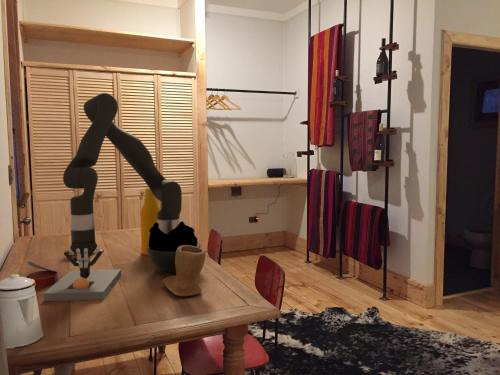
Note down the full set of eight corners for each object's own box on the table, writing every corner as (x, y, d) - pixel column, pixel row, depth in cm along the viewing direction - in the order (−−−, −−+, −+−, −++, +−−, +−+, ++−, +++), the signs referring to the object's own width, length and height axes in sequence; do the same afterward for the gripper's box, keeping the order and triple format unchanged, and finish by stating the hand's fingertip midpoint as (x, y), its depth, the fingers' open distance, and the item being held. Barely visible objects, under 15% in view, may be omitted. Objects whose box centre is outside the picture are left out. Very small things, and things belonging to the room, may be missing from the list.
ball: (85, 284, 135) (87, 296, 137) (89, 274, 139) (91, 286, 141) (69, 284, 134) (71, 296, 136) (74, 274, 139) (76, 286, 141)
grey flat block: (121, 275, 156) (121, 269, 155) (103, 299, 132) (103, 291, 132) (71, 277, 154) (70, 270, 154) (44, 301, 131) (43, 293, 130)
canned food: (30, 294, 150) (28, 266, 153) (61, 287, 154) (58, 261, 157) (23, 289, 140) (21, 260, 143) (56, 282, 144) (53, 254, 147)
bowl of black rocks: (211, 268, 164) (210, 220, 163) (177, 283, 147) (176, 229, 145) (171, 261, 175) (170, 216, 173) (136, 274, 157) (134, 224, 156)
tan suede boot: (211, 295, 136) (210, 249, 134) (175, 301, 130) (174, 253, 129) (195, 281, 149) (194, 239, 147) (161, 286, 144) (160, 243, 142)
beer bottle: (164, 254, 186) (162, 188, 183) (142, 256, 183) (140, 189, 180) (160, 249, 195) (159, 186, 192) (140, 251, 191) (138, 187, 188)
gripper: (106, 224, 145) (108, 274, 146) (66, 225, 144) (68, 275, 146) (100, 229, 137) (102, 280, 139) (58, 229, 136) (60, 282, 138)
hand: (85, 277), depth 142 cm, fingers closed
